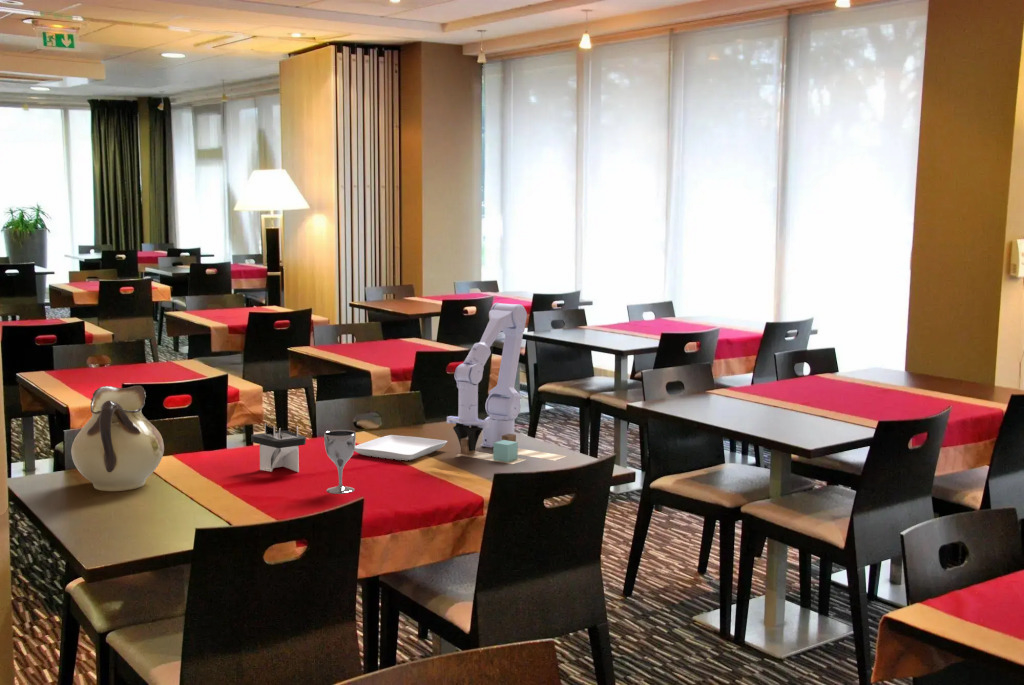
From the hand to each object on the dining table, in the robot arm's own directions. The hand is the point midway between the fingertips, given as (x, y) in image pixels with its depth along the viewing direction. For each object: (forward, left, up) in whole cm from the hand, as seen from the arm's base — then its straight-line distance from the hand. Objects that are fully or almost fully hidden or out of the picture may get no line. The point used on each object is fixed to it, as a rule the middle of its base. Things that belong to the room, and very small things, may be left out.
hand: (467, 449), depth 312 cm
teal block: (+13, 0, -1) cm, 14 cm away
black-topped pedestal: (-30, -46, -3) cm, 55 cm away
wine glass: (-3, -51, -2) cm, 51 cm away
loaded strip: (+8, 0, -2) cm, 9 cm away
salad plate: (-19, -9, -2) cm, 21 cm away
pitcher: (-51, -82, -2) cm, 96 cm away
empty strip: (+15, +11, -2) cm, 19 cm away
